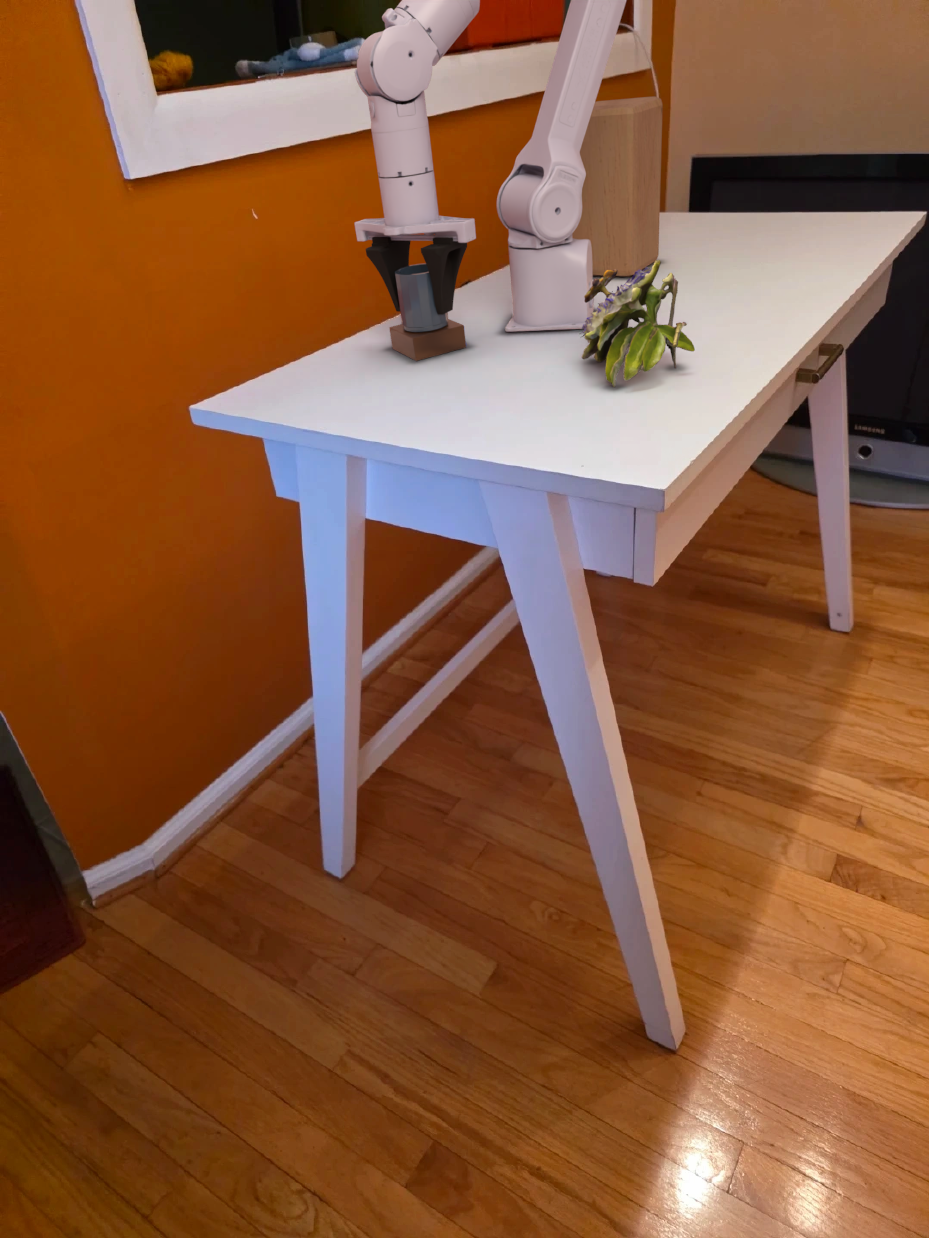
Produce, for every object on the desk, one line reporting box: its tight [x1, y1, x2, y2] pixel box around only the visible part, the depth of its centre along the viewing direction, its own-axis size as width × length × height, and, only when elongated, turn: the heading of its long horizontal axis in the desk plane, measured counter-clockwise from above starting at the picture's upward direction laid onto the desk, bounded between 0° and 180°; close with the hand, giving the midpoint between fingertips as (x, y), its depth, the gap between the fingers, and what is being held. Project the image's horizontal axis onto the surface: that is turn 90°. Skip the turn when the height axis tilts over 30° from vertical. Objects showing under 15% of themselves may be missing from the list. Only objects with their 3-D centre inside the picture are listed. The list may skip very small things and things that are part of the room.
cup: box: [394, 262, 449, 332], centre depth 90 cm, size 5×5×6 cm
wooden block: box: [572, 95, 663, 278], centre depth 109 cm, size 10×10×20 cm
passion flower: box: [579, 259, 696, 388], centre depth 78 cm, size 11×11×12 cm
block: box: [388, 318, 467, 362], centre depth 93 cm, size 6×6×2 cm
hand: (423, 310), depth 91 cm, fingers closed on cup, 5 cm apart
